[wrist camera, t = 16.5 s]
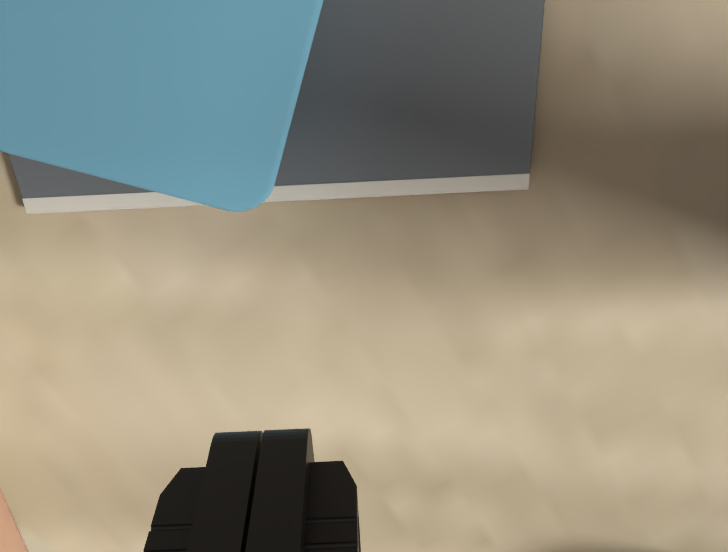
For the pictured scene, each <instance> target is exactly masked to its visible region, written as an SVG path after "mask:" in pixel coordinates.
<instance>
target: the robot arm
mask: <svg viewBox="0 0 728 552" xmlns="http://www.w3.org/2000/svg"><path fill="white" fill-rule="evenodd" d="M144 552H361V546H360V530H359V515H358V499H357V486H356V484H355V482H354V480H353V478H352V477H351V475H350V473H349V471H348V469H347V467H346V466H345V464H344V462H343V461H330V462H314V454H313V445H312V436H311V430H310V429H287V430H265V431H264V433H263V432H262V431H247V432H224V433H215V435H214V436H213V439H212V443H211V447H210V451H209V455H208V460H207V464H206V467H197V468H181V469H180V470H179V472H178V473H177V474H176V475H175V477H174V478H173V479H172V480H171V482H170V483H169V484H168V485H167V487H166V488H165V489H164V491H163V492H162V493H161V494H160V497H159V500H158V504H157V507H156V510H155V514H154V517H153V520H152V524H151V531H149V534H148V537H147V541H146V544H145V547H144Z"/></svg>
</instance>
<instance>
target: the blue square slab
mask: <svg viewBox="0 0 728 552" xmlns="http://www.w3.org/2000/svg"><path fill="white" fill-rule="evenodd" d="M322 4H323V0H0V151H2V152H5V153H8V154H12V155H16V156H20V157H24V158H28V159H31V160H35V161H39V162H43V163H47V164H51V165H54V166H58V167H62V168H66V169H70V170H74V171H77V172H81V173H85V174H89V175H93V176H96V177H100V178H104V179H108V180H112V181H116V182H119V183H123V184H127V185H131V186H135V187H139V188H142V189H146V190H150V191H154V192H158V193H162V194H165V195H169V196H173V197H177V198H181V199H185V200H188V201H192V202H196V203H200V204H204V205H207V206H211V207H215V208H219V209H223V210H227V211H246V210H249V209H252V208H255V207H257V206H258V205H260V204H261V203H263V202H264V201H265V200H266V199H267V198H268V196H269V195H270V194H271V192H272V190H273V187H274V184H275V181H276V177H277V173H278V170H279V166H280V162H281V158H282V155H283V151H284V147H285V143H286V140H287V136H288V132H289V128H290V124H291V121H292V117H293V113H294V109H295V106H296V102H297V98H298V94H299V91H300V87H301V83H302V79H303V76H304V72H305V68H306V64H307V60H308V57H309V53H310V49H311V45H312V42H313V38H314V34H315V30H316V27H317V23H318V19H319V15H320V12H321V8H322Z"/></svg>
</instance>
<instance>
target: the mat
mask: <svg viewBox="0 0 728 552" xmlns="http://www.w3.org/2000/svg"><path fill="white" fill-rule="evenodd" d="M544 3H545V0H323V4H322V8H321V12H320V15H319V19H318V23H317V27H316V30H315V34H314V38H313V42H312V45H311V49H310V53H309V57H308V60H307V64H306V68H305V72H304V76H303V79H302V83H301V87H300V91H299V94H298V98H297V102H296V106H295V109H294V113H293V117H292V121H291V124H290V128H289V132H288V136H287V140H286V143H285V147H284V151H283V155H282V158H281V162H280V166H279V170H278V173H277V177H276V181H275V184H274V187H273V190H272V192H271V194H270V195H269V196H268V198H267V199H266V200H265V201H264V202H281V201H301V200H322V199H342V198H363V197H383V196H403V195H424V194H444V193H465V192H485V191H505V190H526V189H529V178H530V163H531V152H532V141H533V129H534V118H535V106H536V95H537V83H538V72H539V60H540V49H541V37H542V26H543V14H544ZM8 155H9V158H10V161H11V164H12V168H13V171H14V174H15V177H16V180H17V183H18V186H19V189H20V192H21V195H22V200H23V203H24V206H25V209H26V212H27V214H36V213H56V212H77V211H97V210H118V209H138V208H158V207H179V206H199V205H204V204H200V203H196V202H192V201H188V200H185V199H181V198H177V197H173V196H169V195H165V194H162V193H158V192H154V191H150V190H146V189H142V188H139V187H135V186H131V185H127V184H123V183H119V182H116V181H112V180H108V179H104V178H100V177H96V176H93V175H89V174H85V173H81V172H77V171H74V170H70V169H66V168H62V167H58V166H54V165H51V164H47V163H43V162H39V161H35V160H31V159H28V158H24V157H20V156H16V155H12V154H8Z"/></svg>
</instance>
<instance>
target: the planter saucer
mask: <svg viewBox="0 0 728 552" xmlns="http://www.w3.org/2000/svg"><path fill="white" fill-rule="evenodd" d="M0 552H28V551H27V549H26V547H25V544H24V542H23V540H22V538H21V535H20V533H19V531H18V529H17V526H16V524H15V522H14V520H13V517H12V515H11V513H10V511H9V508H8V506H7V504H6V502H5V500H4V497H3V495H2V493H1V491H0Z"/></svg>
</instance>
